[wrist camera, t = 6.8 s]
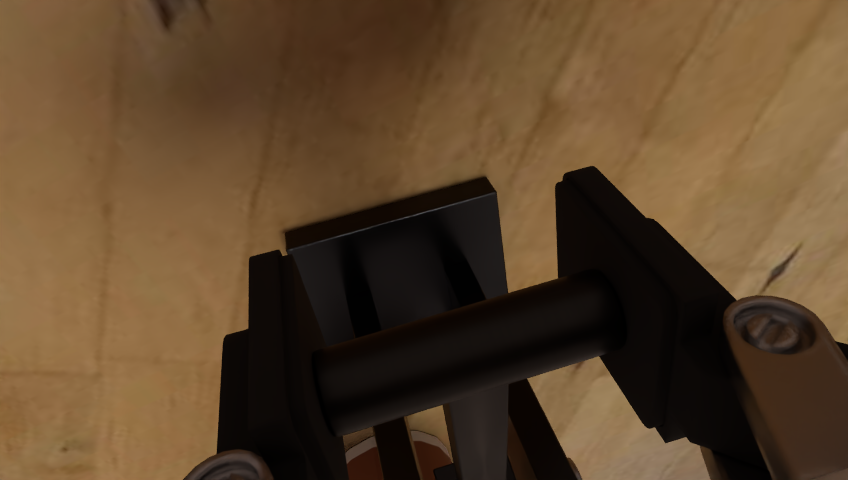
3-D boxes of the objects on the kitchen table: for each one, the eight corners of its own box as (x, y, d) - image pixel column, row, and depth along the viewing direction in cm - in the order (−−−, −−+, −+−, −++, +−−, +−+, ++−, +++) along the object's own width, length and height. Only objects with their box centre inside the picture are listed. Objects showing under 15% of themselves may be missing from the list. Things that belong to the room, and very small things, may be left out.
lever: (301, 311, 10) (325, 448, 9) (581, 230, 11) (650, 346, 9) (398, 510, 19) (418, 592, 18) (544, 463, 20) (574, 538, 18)
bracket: (284, 231, 23) (309, 525, 13) (486, 176, 23) (649, 415, 14) (348, 400, 28) (398, 686, 19) (508, 351, 29) (632, 603, 20)
